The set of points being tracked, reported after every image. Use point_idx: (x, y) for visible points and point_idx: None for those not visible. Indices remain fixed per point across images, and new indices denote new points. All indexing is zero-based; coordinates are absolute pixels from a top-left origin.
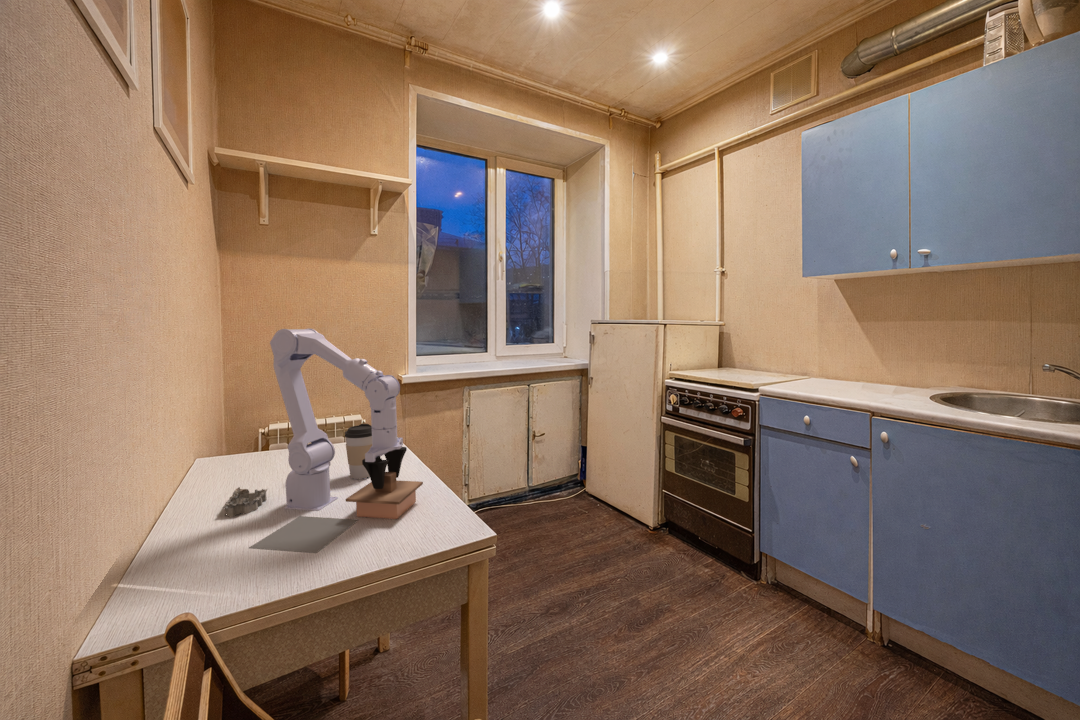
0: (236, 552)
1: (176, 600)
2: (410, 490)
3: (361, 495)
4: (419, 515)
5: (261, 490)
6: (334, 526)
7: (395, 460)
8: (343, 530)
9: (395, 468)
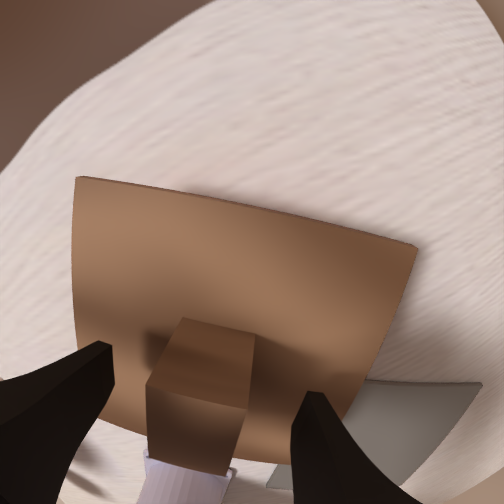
0: (401, 488)
1: (494, 455)
2: (228, 217)
3: (282, 438)
4: (294, 149)
5: None
6: (356, 419)
7: (48, 431)
8: (393, 389)
9: (80, 391)
